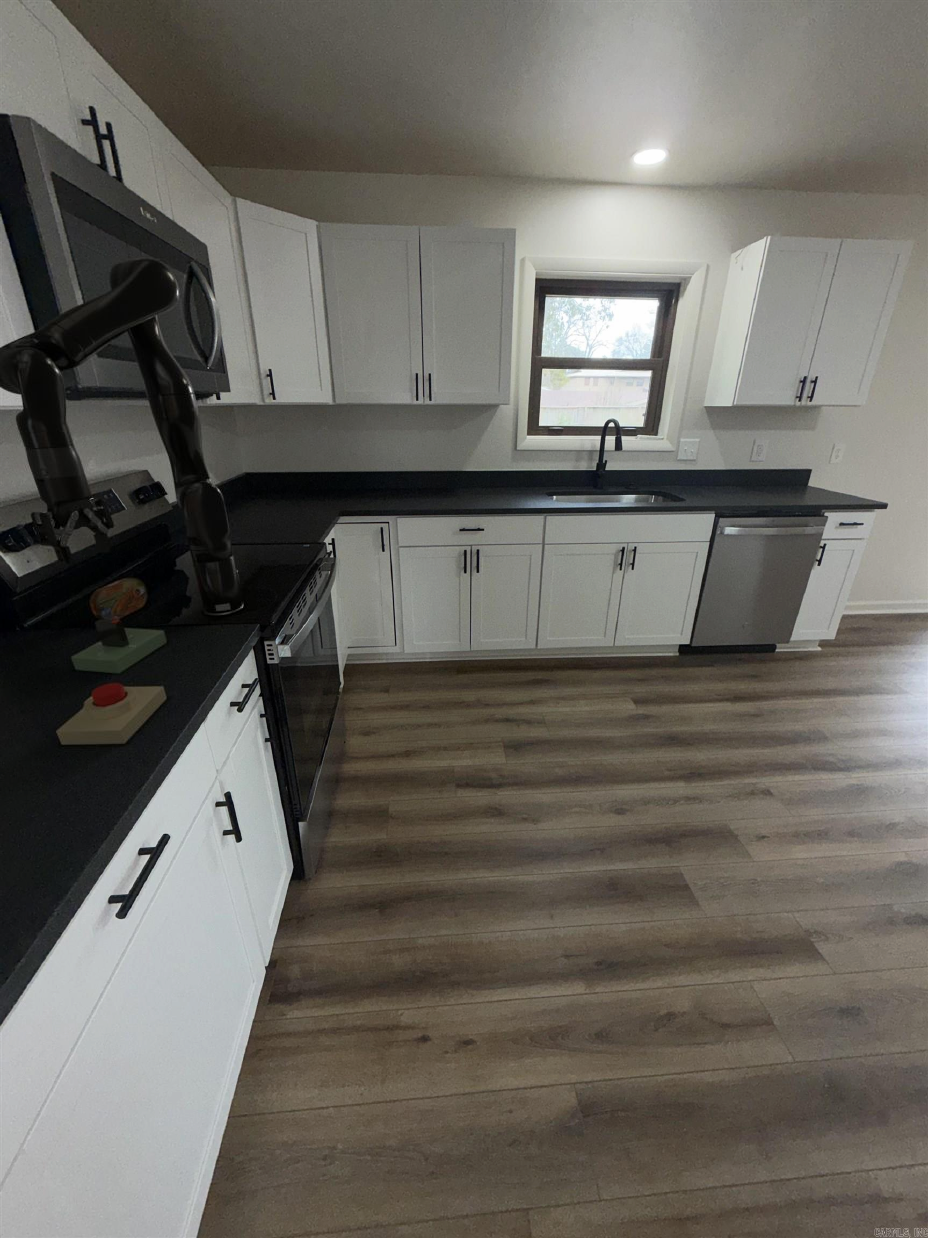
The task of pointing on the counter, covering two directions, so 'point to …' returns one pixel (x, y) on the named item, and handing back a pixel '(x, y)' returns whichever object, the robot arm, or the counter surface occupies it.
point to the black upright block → (112, 633)
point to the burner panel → (119, 652)
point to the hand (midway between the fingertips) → (87, 558)
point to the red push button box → (112, 718)
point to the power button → (108, 694)
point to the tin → (118, 599)
